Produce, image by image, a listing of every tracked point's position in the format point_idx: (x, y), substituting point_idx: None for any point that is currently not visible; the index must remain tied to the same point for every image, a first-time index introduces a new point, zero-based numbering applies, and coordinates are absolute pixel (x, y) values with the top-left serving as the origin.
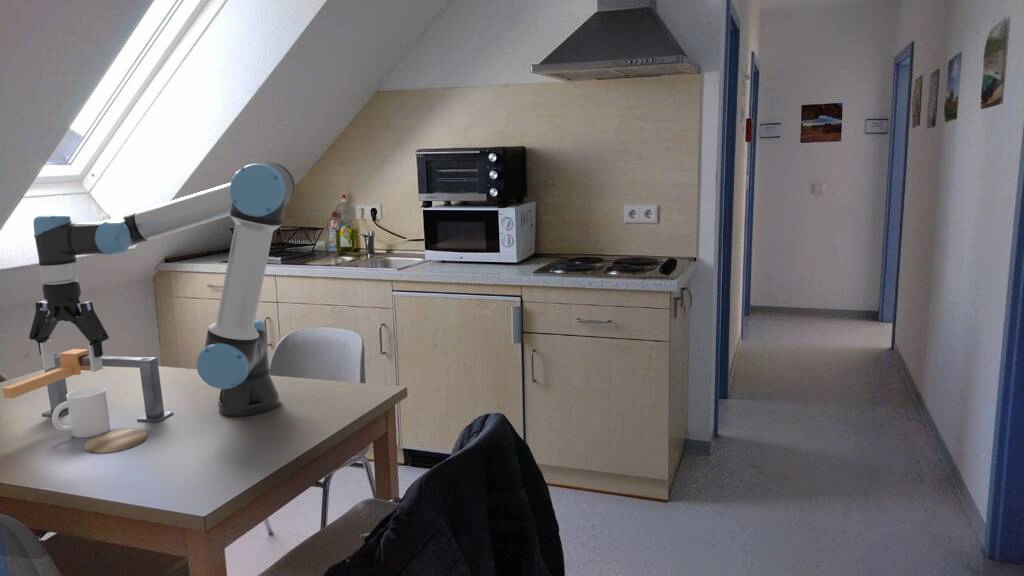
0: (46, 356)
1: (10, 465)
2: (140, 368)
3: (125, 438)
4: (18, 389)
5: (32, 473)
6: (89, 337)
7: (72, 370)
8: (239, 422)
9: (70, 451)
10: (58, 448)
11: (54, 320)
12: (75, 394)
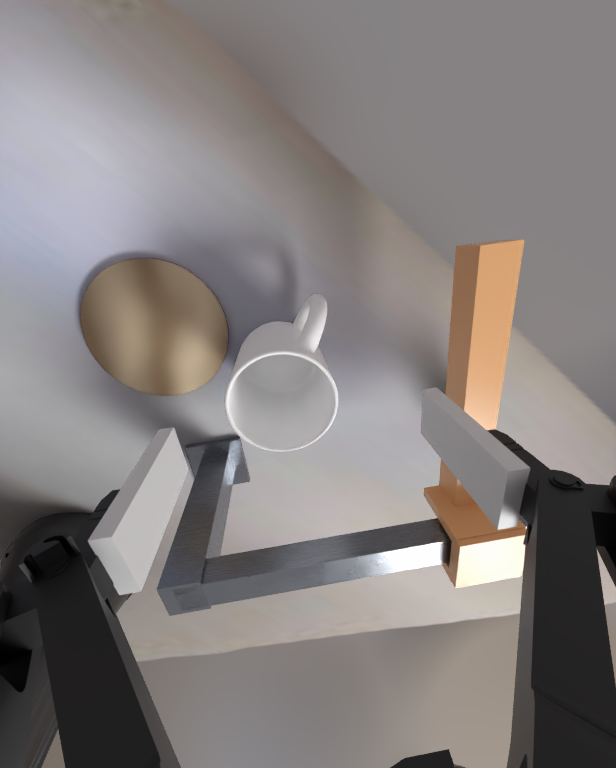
0: (452, 430)
1: (279, 110)
2: (203, 555)
3: (140, 345)
4: (467, 282)
5: (153, 75)
6: (60, 602)
7: (447, 493)
8: (7, 496)
9: (212, 247)
10: (263, 254)
11: (520, 744)
12: (332, 399)
